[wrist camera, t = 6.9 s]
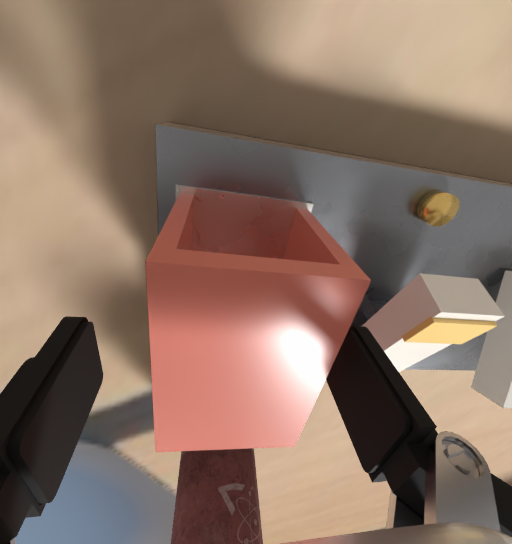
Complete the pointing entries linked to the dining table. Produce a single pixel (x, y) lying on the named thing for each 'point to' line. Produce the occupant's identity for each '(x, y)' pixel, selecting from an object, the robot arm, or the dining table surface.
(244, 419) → the cap
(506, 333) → the block
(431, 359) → the panel
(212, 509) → the can
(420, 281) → the block
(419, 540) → the robot arm
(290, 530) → the dining table surface
